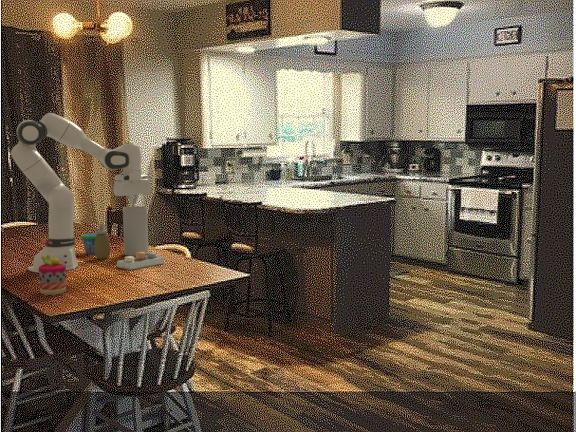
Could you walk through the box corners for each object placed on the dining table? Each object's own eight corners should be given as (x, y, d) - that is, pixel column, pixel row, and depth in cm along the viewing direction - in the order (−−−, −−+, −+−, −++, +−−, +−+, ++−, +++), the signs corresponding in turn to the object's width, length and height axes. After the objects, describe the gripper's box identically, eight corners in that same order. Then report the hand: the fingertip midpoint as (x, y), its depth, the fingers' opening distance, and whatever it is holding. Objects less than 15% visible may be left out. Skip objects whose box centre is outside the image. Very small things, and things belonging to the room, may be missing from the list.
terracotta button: (139, 259, 305) (139, 253, 304) (134, 258, 308) (133, 252, 307) (147, 258, 308) (146, 252, 308) (141, 257, 311) (141, 251, 311)
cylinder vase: (134, 257, 328) (133, 209, 324) (119, 254, 335) (117, 207, 332) (153, 254, 338) (152, 207, 334) (137, 251, 345) (136, 205, 342)
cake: (70, 289, 260) (69, 253, 258) (62, 295, 250) (60, 258, 248) (44, 289, 260) (43, 253, 258) (35, 295, 249) (33, 258, 247)
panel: (129, 270, 297) (129, 263, 297) (117, 267, 304) (117, 260, 303) (163, 263, 313) (163, 257, 312) (150, 260, 319) (150, 255, 319)
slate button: (150, 260, 310) (150, 254, 310) (145, 259, 313) (144, 253, 312) (157, 259, 313) (157, 253, 313) (152, 258, 316) (152, 252, 316)
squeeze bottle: (106, 260, 320) (105, 224, 318) (91, 259, 322) (90, 224, 320) (113, 257, 328) (112, 222, 326) (99, 256, 330) (98, 222, 328)
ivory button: (128, 264, 300) (128, 258, 300) (122, 263, 303) (122, 257, 302) (136, 263, 303) (136, 257, 303) (130, 261, 306) (130, 255, 306)
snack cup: (77, 252, 340) (76, 233, 339) (96, 250, 347) (95, 231, 346) (88, 256, 328) (88, 237, 327) (108, 254, 335) (107, 235, 334)
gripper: (145, 174, 321) (146, 202, 322) (111, 176, 305) (112, 205, 307) (153, 175, 317) (154, 202, 318) (119, 177, 301) (119, 206, 303)
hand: (133, 204), depth 313 cm, fingers closed
